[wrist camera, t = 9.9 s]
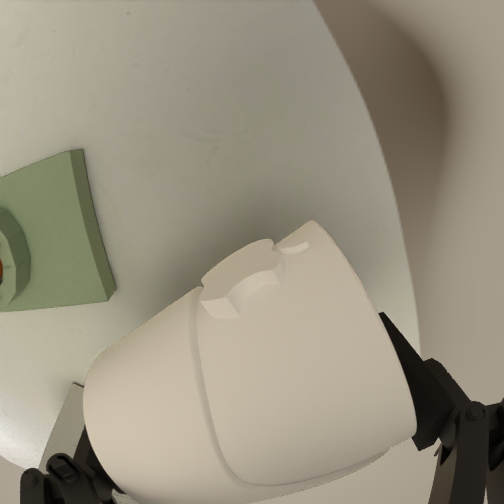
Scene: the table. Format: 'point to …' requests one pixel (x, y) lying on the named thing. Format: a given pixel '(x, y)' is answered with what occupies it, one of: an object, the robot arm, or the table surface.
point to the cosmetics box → (71, 434)
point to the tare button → (0, 269)
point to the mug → (251, 382)
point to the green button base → (51, 237)
